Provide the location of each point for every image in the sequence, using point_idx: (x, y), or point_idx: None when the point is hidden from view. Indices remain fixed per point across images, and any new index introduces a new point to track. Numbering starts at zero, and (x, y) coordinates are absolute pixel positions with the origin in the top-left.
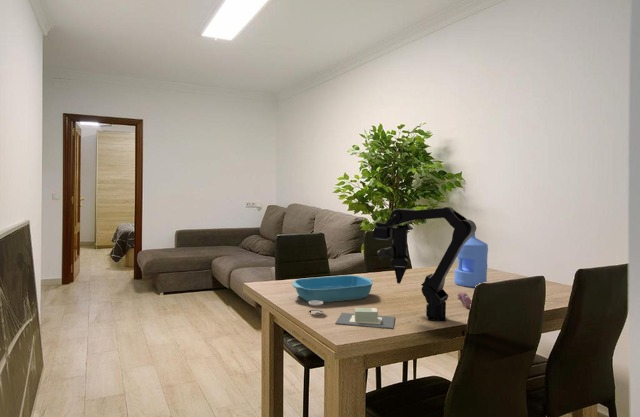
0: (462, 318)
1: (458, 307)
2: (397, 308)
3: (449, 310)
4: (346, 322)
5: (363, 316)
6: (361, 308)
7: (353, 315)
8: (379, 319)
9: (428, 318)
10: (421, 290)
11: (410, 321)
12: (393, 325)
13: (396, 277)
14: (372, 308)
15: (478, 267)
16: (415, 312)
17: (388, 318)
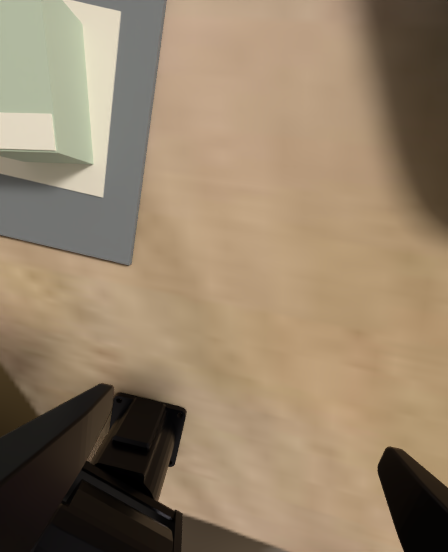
0: None
1: (306, 540)
2: (296, 306)
3: (263, 500)
4: None
5: None
6: (30, 33)
7: (114, 18)
8: (66, 177)
9: (116, 398)
10: (59, 507)
11: (91, 321)
12: (10, 236)
13: (15, 432)
14: (39, 120)
15: None
16: (228, 372)
17: (97, 228)
